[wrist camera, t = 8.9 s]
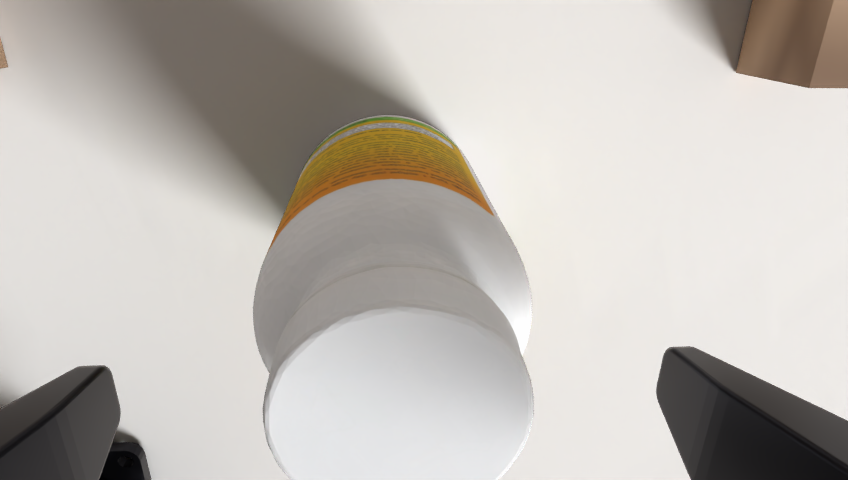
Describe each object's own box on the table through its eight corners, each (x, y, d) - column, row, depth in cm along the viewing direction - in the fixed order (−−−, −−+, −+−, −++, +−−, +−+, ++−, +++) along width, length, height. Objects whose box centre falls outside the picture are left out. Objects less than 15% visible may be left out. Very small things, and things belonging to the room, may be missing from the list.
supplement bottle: (260, 177, 16) (121, 390, 7) (414, 74, 16) (465, 176, 7) (365, 308, 18) (354, 599, 10) (507, 223, 18) (640, 454, 9)
